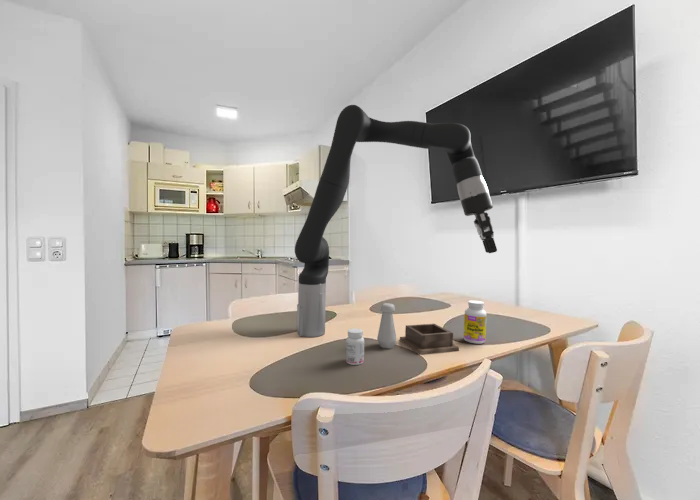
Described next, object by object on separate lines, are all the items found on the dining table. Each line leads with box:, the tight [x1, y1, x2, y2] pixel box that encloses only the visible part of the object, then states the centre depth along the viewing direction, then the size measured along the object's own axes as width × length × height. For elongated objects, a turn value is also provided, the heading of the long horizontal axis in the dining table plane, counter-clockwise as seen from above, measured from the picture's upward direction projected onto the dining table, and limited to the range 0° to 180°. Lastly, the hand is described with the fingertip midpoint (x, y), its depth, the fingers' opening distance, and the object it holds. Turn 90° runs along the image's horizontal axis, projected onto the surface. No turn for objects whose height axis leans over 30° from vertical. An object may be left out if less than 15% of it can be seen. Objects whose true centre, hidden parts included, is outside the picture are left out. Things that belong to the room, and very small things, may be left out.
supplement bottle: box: [463, 300, 488, 345], centre depth 103 cm, size 7×7×13 cm
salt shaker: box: [376, 302, 397, 350], centre depth 96 cm, size 6×6×13 cm
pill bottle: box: [345, 327, 365, 366], centre depth 84 cm, size 5×5×8 cm
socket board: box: [399, 323, 460, 355], centre depth 98 cm, size 13×13×5 cm
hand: (491, 252), depth 87 cm, fingers open, 8 cm apart
